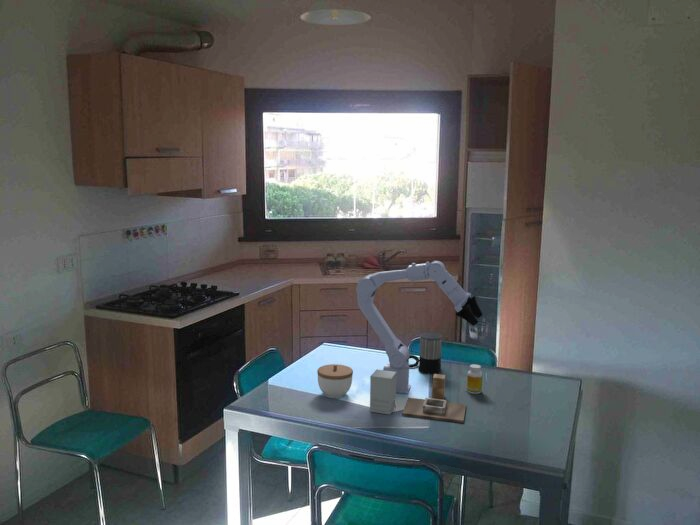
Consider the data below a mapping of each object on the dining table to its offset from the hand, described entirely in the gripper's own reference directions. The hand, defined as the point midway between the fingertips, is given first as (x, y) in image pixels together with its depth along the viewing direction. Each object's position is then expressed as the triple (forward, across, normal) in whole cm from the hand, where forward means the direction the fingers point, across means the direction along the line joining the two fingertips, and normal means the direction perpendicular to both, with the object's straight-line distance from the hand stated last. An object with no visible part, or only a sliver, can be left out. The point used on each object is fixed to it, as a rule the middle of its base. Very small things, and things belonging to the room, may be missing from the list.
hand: (478, 320), depth 212 cm
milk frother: (+6, +18, +40) cm, 45 cm away
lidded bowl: (-11, -22, +52) cm, 57 cm away
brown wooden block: (+13, -8, +27) cm, 31 cm away
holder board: (+13, -20, +25) cm, 35 cm away
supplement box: (+2, -27, +36) cm, 45 cm away
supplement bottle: (+21, +3, +21) cm, 30 cm away
